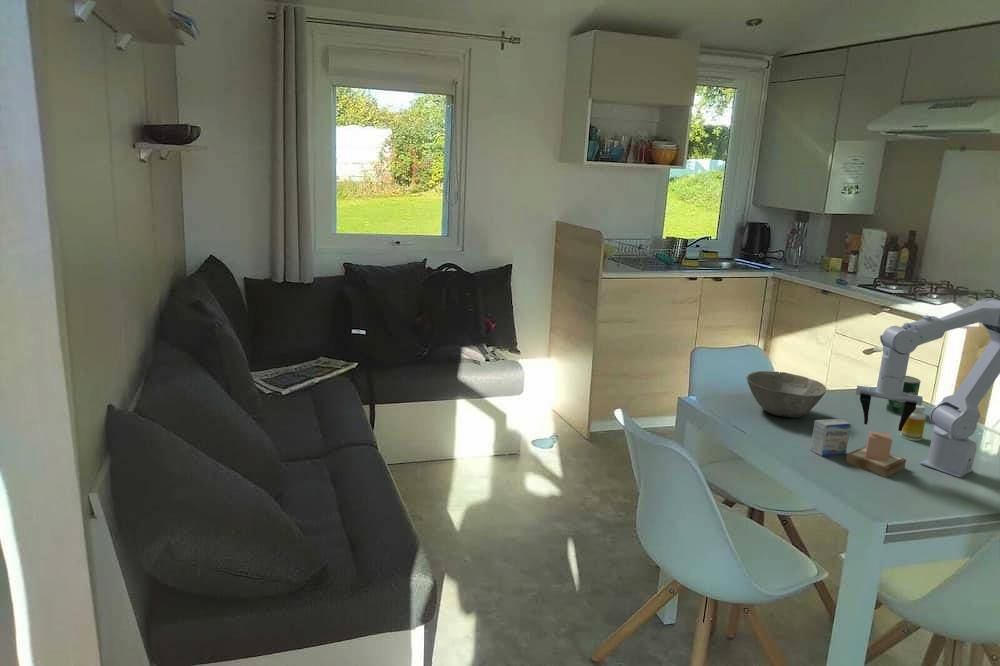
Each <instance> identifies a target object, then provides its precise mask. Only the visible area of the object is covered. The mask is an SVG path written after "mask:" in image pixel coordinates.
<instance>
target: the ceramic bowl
mask: <svg viewBox="0 0 1000 666" xmlns="http://www.w3.org/2000/svg"><path fill="white" fill-rule="evenodd" d="M745 378H746V381H747V384H748V387H749V389H750V392H751V394H752V396H753V397H754V400H755V401H756V402H757V404H758V405H759V406H760V407H761V409H763V410H764V411H765V412H768V413H769V414H771V415H774V416H778V417H783V418H790V419H791V418H792V419H797V418H801V417H803V416H805V415H806V414H808V413H809V412H810V411H811V410H812V409H813V408H814V407H815V406H816V405H817V404H818V403H819V402H820V400H821V399H822V398H823V396H824V395H825V394H826V392H827V387H826V385H825V384H823V383H822V382H819V381H818V380H815V379H812V378H809V377H806V376H802V375H798V374H793V373H789V372H784V371H772V370H771V371H767V370H762V371H754V372H750V373H749V374H747V376H746V377H745Z"/></svg>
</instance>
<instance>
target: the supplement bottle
mask: <svg viewBox="0 0 1000 666" xmlns="http://www.w3.org/2000/svg"><path fill="white" fill-rule="evenodd" d="M925 409H926V406H925V405H923V404H922V405H921V406H919V405H916V409H915V410H914V412H913V413H912V414H911V415H910V416H909V418H908V419H907V421H906V422H905V424H904V426H903V428H902V431H899V433H900V434H899V435H900V437H901V438H902V439H905V440H908V441H914V442H917V441H918V442H919V441H921V440H922V439H923V436H924V430H925V424H926V420H927V416H926V413H924V412H925V411H926V410H925Z"/></svg>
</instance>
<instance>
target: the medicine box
mask: <svg viewBox="0 0 1000 666" xmlns="http://www.w3.org/2000/svg"><path fill="white" fill-rule="evenodd" d="M851 426H852V425H851V423H850V422H848V421H846V420H844V419H841V418H830V419H829V418H827V419H815V420H814V422H813V429H812V436H811V443H810V447H809V448H810V451H811V452H813V453H815V454H817V455H818V456H821V457H829V456H839V455H841V456H842V455H846V453H847V449H848V444H849V437H850V432H851Z"/></svg>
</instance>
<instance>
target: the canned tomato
mask: <svg viewBox="0 0 1000 666" xmlns="http://www.w3.org/2000/svg"><path fill="white" fill-rule="evenodd" d="M920 385H921V379H919V378H917V377H913V376H910V375H906V376H905V382H904V387H903V392H905V393H909V394H913V395H917V396H919V391H920V387H921V386H920ZM903 405H904V402H900V401H894V400H889V399H887V401H886V407H885V411H886V412H887V413H890V414H892V415H896V416H900V417H901V416H902V411H903Z"/></svg>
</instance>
